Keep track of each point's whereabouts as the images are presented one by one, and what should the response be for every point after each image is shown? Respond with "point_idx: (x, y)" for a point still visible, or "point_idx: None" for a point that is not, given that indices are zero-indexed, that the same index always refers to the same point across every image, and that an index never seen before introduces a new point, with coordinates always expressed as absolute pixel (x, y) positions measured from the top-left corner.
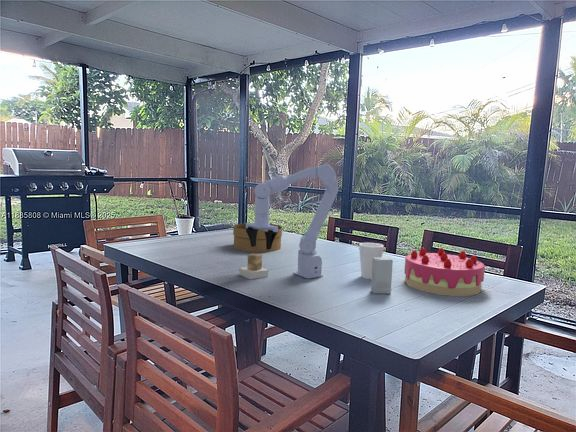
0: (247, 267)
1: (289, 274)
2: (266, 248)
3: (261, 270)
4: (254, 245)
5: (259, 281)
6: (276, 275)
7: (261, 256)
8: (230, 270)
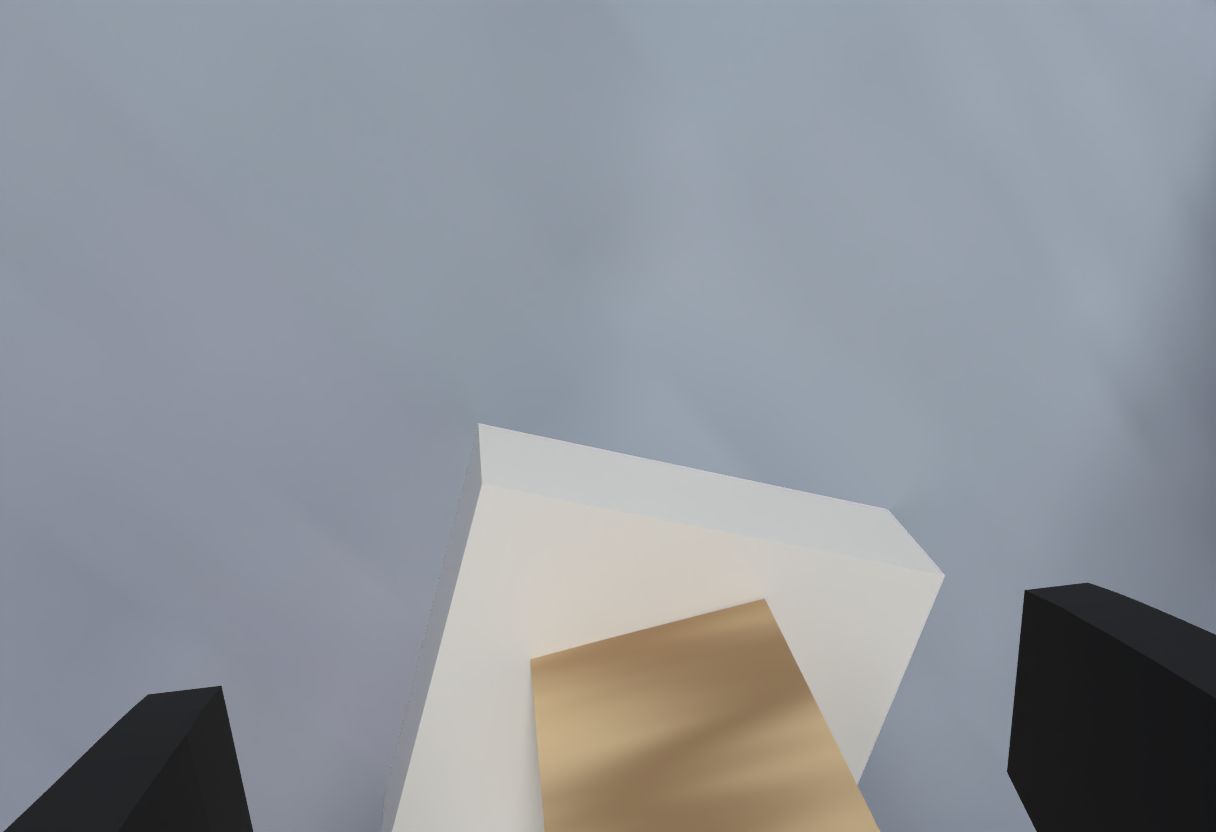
0: (466, 753)
1: (1161, 43)
2: (1026, 808)
3: (856, 699)
4: (226, 790)
5: (949, 811)
6: (974, 326)
7: (862, 812)
8: (11, 739)
